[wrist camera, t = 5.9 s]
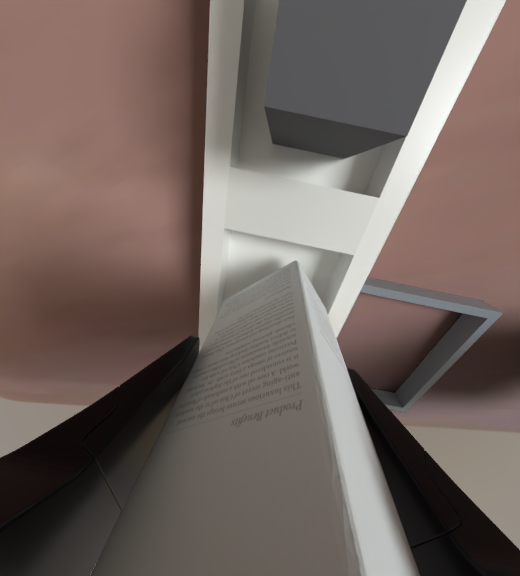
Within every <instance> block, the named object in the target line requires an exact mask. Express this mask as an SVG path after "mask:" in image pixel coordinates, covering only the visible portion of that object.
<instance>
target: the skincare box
mask: <svg viewBox="0 0 520 576" xmlns="http://www.w3.org/2000/svg"><path fill="white" fill-rule="evenodd" d="M90 576H420V574H419V571H418V568H417V565H416V563H415V560H414V557H413V554H412V551H411V549H410V546H409V543H408V540H407V538H406V535H405V532H404V529H403V526H402V524H401V521H400V518H399V515H398V512H397V509H396V506H395V504H394V501H393V498H392V495H391V492H390V489H389V487H388V484H387V481H386V478H385V475H384V472H383V469H382V467H381V464H380V461H379V458H378V456H377V453H376V450H375V447H374V444H373V441H372V439H371V436H370V433H369V430H368V428H367V425H366V422H365V419H364V416H363V413H362V410H361V408H360V405H359V402H358V399H357V396H356V394H355V391H354V388H353V385H352V382H351V379H350V377H349V374H348V371H347V368H346V365H345V362H344V359H343V356H342V354H341V351H340V348H339V345H338V342H337V339H336V337H335V334H334V331H333V328H332V325H331V322H330V320H329V317H328V314H327V311H326V308H325V306H324V304H323V303H322V301H321V299H320V298H319V296H318V294H317V293H316V291H315V289H314V287H313V286H312V284H311V282H310V280H309V279H308V277H307V275H306V274H305V272H304V270H303V268H302V267H301V265H300V263H299V262H298V261H297V260H295V261H293V262H291V263H290V264H288V265H286V266H284V267H283V268H281V269H279V270H277V271H275V272H274V273H272V274H270V275H268V276H266V277H265V278H263V279H261V280H259V281H257V282H256V283H254V284H252V285H250V286H249V287H247V288H245V289H243V290H241V291H240V292H238V293H236V294H234V295H232V296H231V297H229V298H227V299H225V300H224V302H223V304H222V306H221V309H220V311H219V313H218V315H217V317H216V319H215V321H214V323H213V325H212V327H211V329H210V331H209V333H208V335H207V337H206V339H205V342H204V343H203V346H202V348H201V350H200V352H199V354H198V356H197V358H196V361H195V363H194V365H193V367H192V369H191V371H190V373H189V375H188V377H187V379H186V381H185V383H184V385H183V387H182V389H181V391H180V393H179V395H178V397H177V399H176V401H175V403H174V405H173V407H172V409H171V411H170V413H169V415H168V417H167V419H166V422H165V424H164V426H163V428H162V430H161V432H160V434H159V436H158V438H157V440H156V442H155V444H154V446H153V448H152V450H151V452H150V454H149V456H148V458H147V460H146V462H145V464H144V466H143V468H142V470H141V472H140V474H139V476H138V478H137V480H136V482H135V484H134V486H133V488H132V491H131V493H130V495H129V497H128V499H127V501H126V503H125V505H124V507H123V509H122V511H121V513H120V515H119V517H118V519H117V521H116V524H115V526H114V528H113V530H112V532H111V534H110V536H109V538H108V540H107V542H106V544H105V546H104V548H103V550H102V553H101V555H100V557H99V559H98V561H97V563H96V565H95V567H94V569H93V571H92V573H91V575H90Z"/></svg>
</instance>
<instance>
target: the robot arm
mask: <svg viewBox="0 0 520 576" xmlns="http://www.w3.org/2000/svg"><path fill="white" fill-rule="evenodd" d="M199 345H200V339H199V337H195V336H190V337H188V338H187V339H185V340H184V341H183V342H181V343H180V344H178V345H177V346H175V347H174V348H173V349H171V350H170V351H168V352H167V353H165V354H164V355H163V356H161V357H160V358H158V359H157V360H155V361H154V362H153V363H151V364H150V365H148V366H147V367H145V368H144V369H143V370H141V371H140V372H138V373H137V374H135V375H134V376H133V377H131V378H130V379H128V380H127V381H126V382H124V383H123V384H121V385H120V387H117V388H115V389H114V390H113V391H111V392H110V393H108V394H107V395H105V396H104V397H102V398H101V399H99V400H98V401H96V402H95V403H93V404H92V405H90V406H89V407H87V408H85V409H84V410H82V411H81V412H79V413H77V414H76V415H74V416H73V417H71V418H69V419H68V420H66V421H64V422H63V423H61V424H59V425H58V426H56V427H54V428H53V429H51V430H49V431H48V432H46V433H44V434H43V435H41V436H39V437H38V438H36V439H35V440H33V441H31V442H29V443H28V444H26V445H24V446H22V447H21V448H19V449H17V450H15V451H13V452H12V453H9V454H7V455H5V456H3V457H1V458H0V576H90V574H91V572H92V570H93V568H94V566H95V564H96V562H97V560H98V558H99V556H100V554H101V552H102V550H103V548H104V546H105V544H106V542H107V540H108V538H109V536H110V534H111V532H112V530H113V528H114V526H115V524H116V521H117V519H118V517H119V515H120V513H121V511H122V509H123V507H124V505H125V503H126V501H127V499H128V497H129V495H130V493H131V491H132V488H133V486H134V484H135V482H136V480H137V478H138V476H139V474H140V472H141V470H142V468H143V466H144V464H145V462H146V460H147V458H148V456H149V454H150V452H151V450H152V448H153V446H154V444H155V442H156V440H157V438H158V436H159V434H160V432H161V430H162V428H163V426H164V424H165V422H166V419H167V417H168V415H169V413H170V411H171V409H172V407H173V405H174V403H175V401H176V399H177V397H178V395H179V393H180V391H181V389H182V387H183V385H184V383H185V381H186V379H187V377H188V375H189V373H190V371H191V369H192V367H193V365H194V363H195V361H196V358H197V356H198V353H199ZM347 371H348V374H349V377H350V379H351V382H352V385H353V388H354V391H355V394H356V396H357V399H358V402H359V405H360V408H361V410H362V413H363V416H364V419H365V422H366V425H367V428H368V430H369V433H370V436H371V439H372V441H373V444H374V447H375V450H376V453H377V456H378V458H379V461H380V464H381V467H382V469H383V472H384V475H385V478H386V481H387V484H388V487H389V489H390V492H391V495H392V498H393V501H394V504H395V506H396V509H397V512H398V515H399V518H400V521H401V524H402V526H403V529H404V532H405V535H406V538H407V540H408V543H409V546H410V549H411V551H412V554H413V557H414V560H415V563H416V565H417V568H418V571H419V574H420V576H520V550H519V549H518V548H517V547H516V546H515V545H514V544H513V543H512V542H511V541H510V540H509V539H508V537H506V535H505V534H503V532H501V530H500V529H499V528H498V527H497V526H496V525H495V524H494V523H493V522H492V521H491V520H490V519H489V518H488V517H487V516H486V515H485V514H484V513H483V512H482V511H481V510H480V509H479V508H478V507H477V506H476V505H475V504H474V502H473V501H472V500H471V499H470V498H469V497H468V496H467V495H466V494H465V493H464V492H463V491H462V490H461V489H460V488H459V487H458V486H457V485H456V484H455V483H454V482H453V481H452V479H451V478H450V477H449V476H448V475H447V474H446V473H445V472H444V471H443V470H442V469H441V468H440V466H439V465H438V464H437V463H436V462H435V461H434V460H433V458H432V457H431V456H430V455H429V454H428V453H427V452H426V451H424V448H423V447H422V446H421V445H420V444H419V443H418V442H417V440H416V439H415V438H414V437H413V436H412V435H411V434H410V433H409V431H408V430H407V429H406V428H405V427H404V426H403V425H402V423H401V422H400V421H399V420H398V419H397V418H396V417H395V416H394V414H393V413H392V412H391V411H390V410H389V409H388V408H387V406H386V405H385V404H384V403H383V402H382V401H381V400H380V399H379V397H378V396H377V395H376V394H375V393H374V392H373V391H372V389H371V388H370V387H369V386H368V385H367V384H366V383H365V382H364V380H363V379H362V378H361V377H360V376H359V375H358V374H357V373H356V371H355V370H353V369H348V368H347Z"/></svg>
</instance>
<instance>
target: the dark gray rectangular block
mask: <svg viewBox="0 0 520 576" xmlns="http://www.w3.org/2000/svg"><path fill="white" fill-rule="evenodd" d="M466 1H467V0H279V7H278V14H277V21H276V28H275V34H274V41H273V48H272V55H271V62H270V69H269V76H268V83H267V90H266V97H265V104H264V108H265V112H266V117H267V121H268V126H269V130H270V135H271V139H272V143H273V144H276V145H281V146H285V147H290V148H295V149H300V150H305V151H309V152H314V153H319V154H324V155H329V156H333V157H338V158H343V159H346V158H349V157H351V156H354V155H357V154H360V153H362V152H365V151H368V150H371V149H373V148H376V147H379V146H382V145H384V144H387V143H390V142H393V141H395V140H398V139H401V138H404V137H406V136H407V135H408V133H409V131H410V129H411V126H412V124H413V122H414V119H415V117H416V115H417V113H418V110H419V108H420V106H421V104H422V101H423V99H424V97H425V94H426V92H427V90H428V88H429V85H430V83H431V81H432V79H433V76H434V74H435V72H436V69H437V67H438V65H439V63H440V60H441V58H442V56H443V54H444V51H445V49H446V47H447V44H448V42H449V40H450V38H451V35H452V33H453V31H454V29H455V26H456V24H457V22H458V19H459V17H460V15H461V13H462V10H463V8H464V6H465V4H466Z"/></svg>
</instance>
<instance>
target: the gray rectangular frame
mask: <svg viewBox="0 0 520 576" xmlns="http://www.w3.org/2000/svg"><path fill="white" fill-rule="evenodd" d="M360 292H362V293H367V294H372V295H377V296H381V297H386V298H391V299H396V300H401V301H406V302H411V303H415V304H420V305H425V306H430V307H435V308H440V309H444V310H449V311H454V312H459V313H463V314H462V315H461V316H460V317H459V319H458V320H457V321H456V322H455V323H454V324H453V326H452V327H451V328H450V329H449V330H448V331H447V333H446V334H445V335H444V336H443V337H442V338H441V340H440V341H439V342H438V343H437V344H436V345H435V347H434V348H433V349H432V350H431V351H430V352H429V354H428V355H427V356H426V357H425V358H424V359H423V361H422V362H421V363H420V364H419V365H418V366H417V368H416V369H415V370H414V371H413V372H412V373H411V375H410V376H409V377H408V378H407V379H406V380H405V382H404V383H403V384H402V385H401V386H400V387H399V389H398V390H397V391H396V392H395V393H392V392H387V391H383V390H378V389H373V388H371V389H372V391H373V392H374V393H375V394H376V395H377V396H378V397H379V399H380V400H381V401H382V402H383V403H384V404H385V405H386V406H387V408H388V409H390V410H395V411H399V412H404V413H406V412H407V411H408V410H409V409H410V408H411V407H412V406H413V405H414V404H415V403H416V402H417V401H418V400H419V399H420V398H421V397H422V396H423V395H424V394H425V393H426V392H427V391H428V390H429V388H430V387H431V386H432V385H433V384H434V383H435V382H436V381H437V380H438V379H439V378H440V377H441V376H442V375H443V374H444V373H445V372H446V371H447V370H448V369H449V368H450V367H451V366H452V365H453V364H454V363H455V362H456V361H457V360H458V359H459V358H460V357H461V356H462V355H463V354H464V353H465V352H466V351H467V350H468V349H469V348H470V347H471V346H472V345H473V344H474V343H475V342H476V341H477V340H478V339H479V338H480V337H481V336H482V335H483V333H484V332H485V331H486V330H487V329H488V328H489V327H490V326H491V325H492V324H493V323H494V322H495V321H496V320H497V319H498V318H499V317H500V316H501V315H502V314H503V313H502V312H501V311H499V310H497V309H496V308H494V307H492V306H490V305H489V304H487V303H485V302H484V301H480V300H475V299H471V298H466V297H461V296H456V295H451V294H446V293H441V292H437V291H432V290H427V289H422V288H417V287H412V286H408V285H403V284H398V283H393V282H388V281H383V280H378V279H374V278H369V277H367V279H366V281H365V283H364V285H363V287H362V289H361V291H360ZM359 294H360V293H359ZM358 296H359V295H358ZM357 298H358V297H357ZM356 300H357V299H356ZM355 302H356V301H355ZM354 304H355V303H354ZM353 306H354V305H353ZM352 308H353V307H352ZM351 310H352V309H351ZM350 312H351V311H350ZM349 314H350V313H349ZM348 316H349V315H348ZM348 316H347V318H348ZM347 318H346V320H347ZM346 320H345V322H346ZM345 322H344V324H345ZM344 324H343V326H344ZM343 326H342V328H343ZM342 328H341V330H342ZM341 330H340V332H341ZM340 332H339V334H340ZM339 334H338V336H339ZM338 336H337V338H338ZM337 338H336V339H337Z"/></svg>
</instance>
